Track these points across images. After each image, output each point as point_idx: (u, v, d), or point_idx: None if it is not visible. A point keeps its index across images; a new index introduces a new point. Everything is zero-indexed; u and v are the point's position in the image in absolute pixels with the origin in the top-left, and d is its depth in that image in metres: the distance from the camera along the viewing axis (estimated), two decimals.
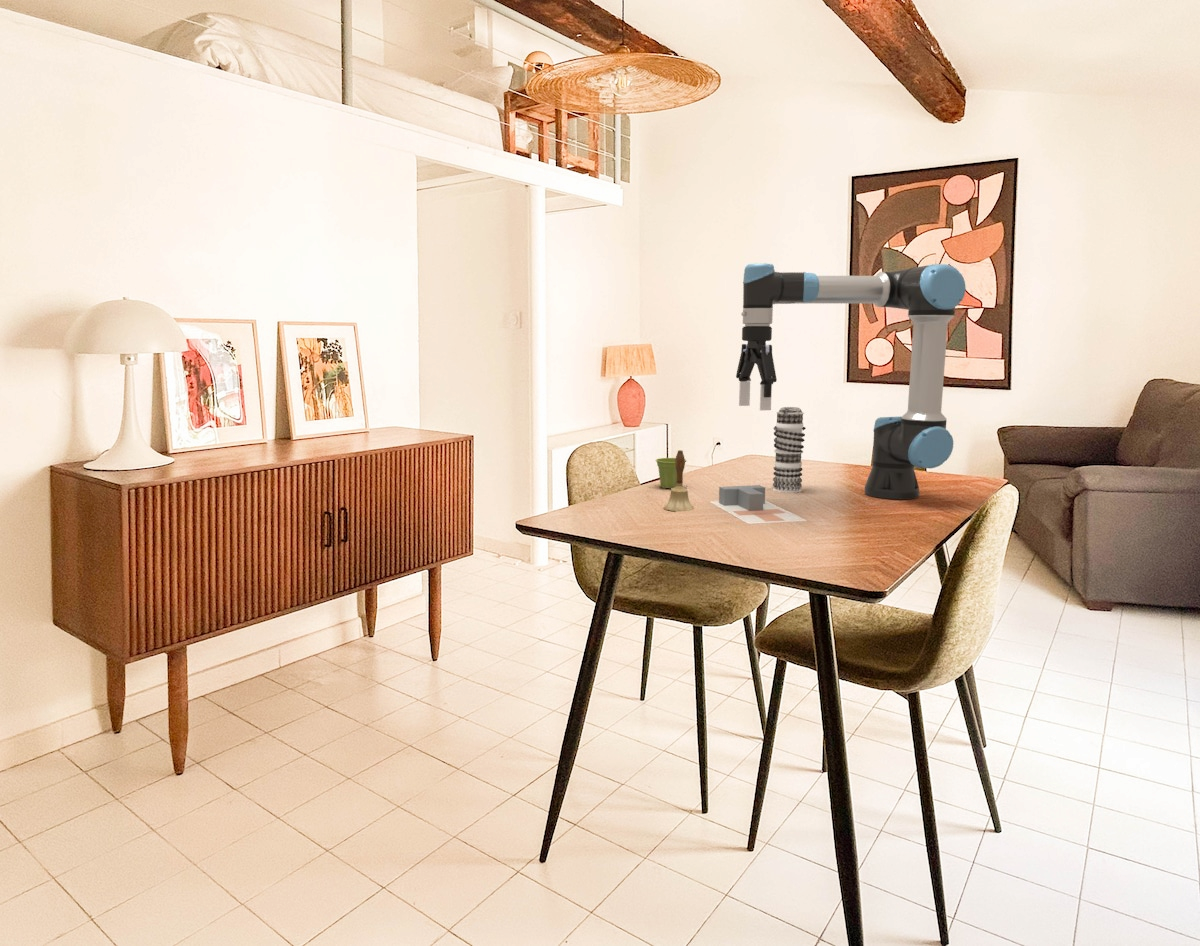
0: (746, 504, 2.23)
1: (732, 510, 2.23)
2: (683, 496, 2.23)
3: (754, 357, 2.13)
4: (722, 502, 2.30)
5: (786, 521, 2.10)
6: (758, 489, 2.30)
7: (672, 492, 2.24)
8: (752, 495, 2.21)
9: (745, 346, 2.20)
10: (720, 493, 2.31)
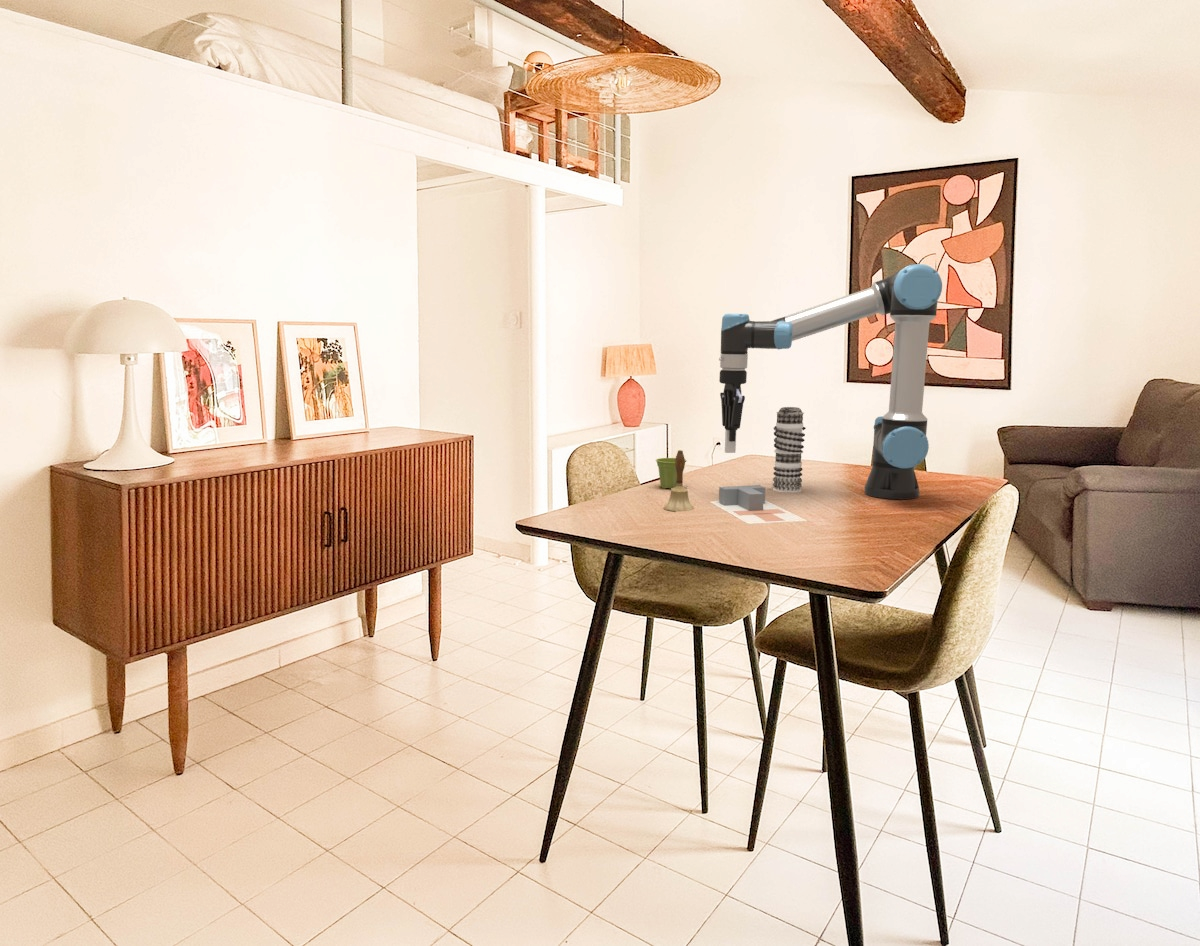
0: (746, 504, 2.23)
1: (732, 510, 2.23)
2: (683, 496, 2.23)
3: (728, 400, 2.34)
4: (722, 502, 2.30)
5: (786, 521, 2.10)
6: (758, 489, 2.30)
7: (672, 492, 2.24)
8: (752, 495, 2.21)
9: (723, 393, 2.40)
10: (720, 493, 2.31)
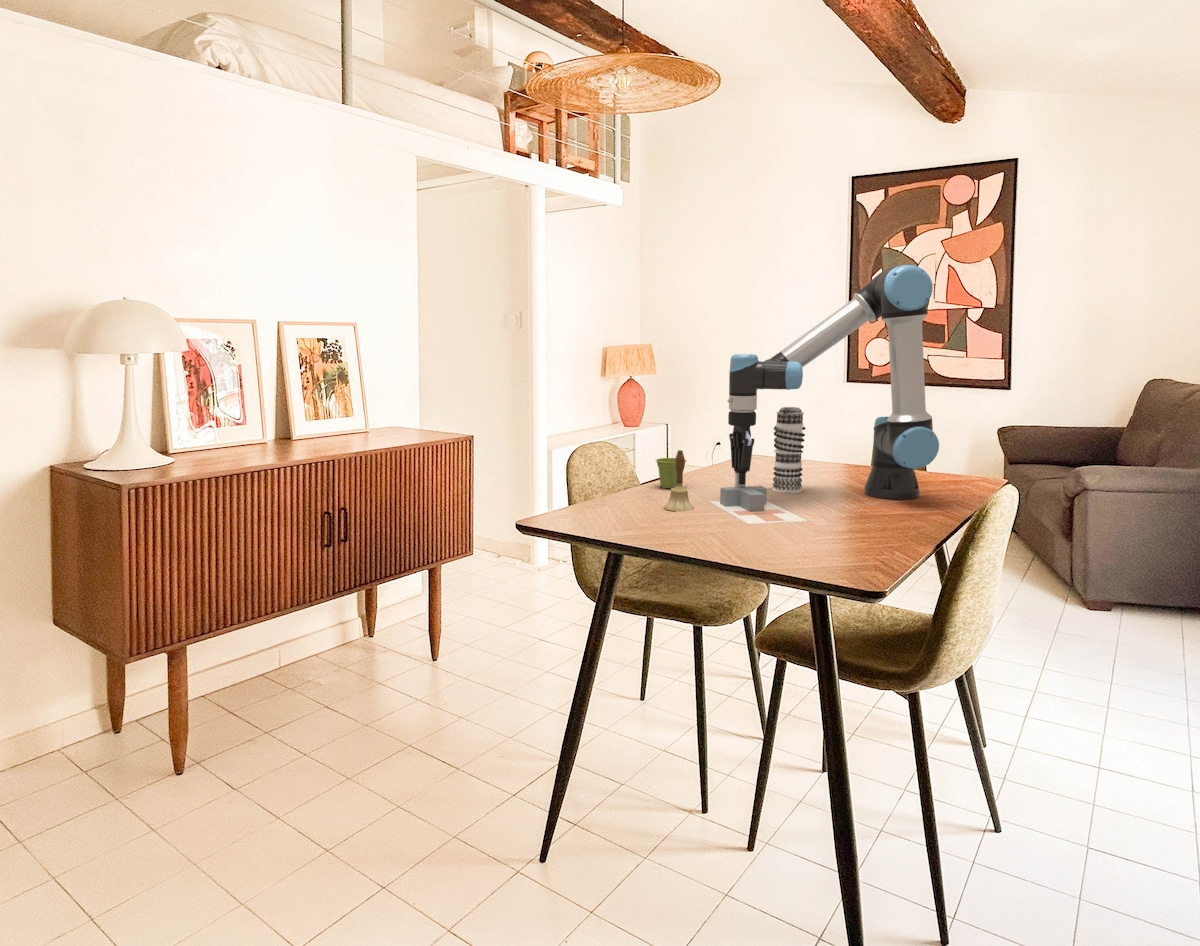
0: (747, 504, 2.22)
1: (732, 510, 2.23)
2: (683, 496, 2.23)
3: (737, 443, 2.29)
4: (723, 503, 2.29)
5: (786, 521, 2.10)
6: (759, 490, 2.29)
7: (672, 492, 2.24)
8: (753, 496, 2.20)
9: (732, 434, 2.35)
10: (721, 494, 2.30)
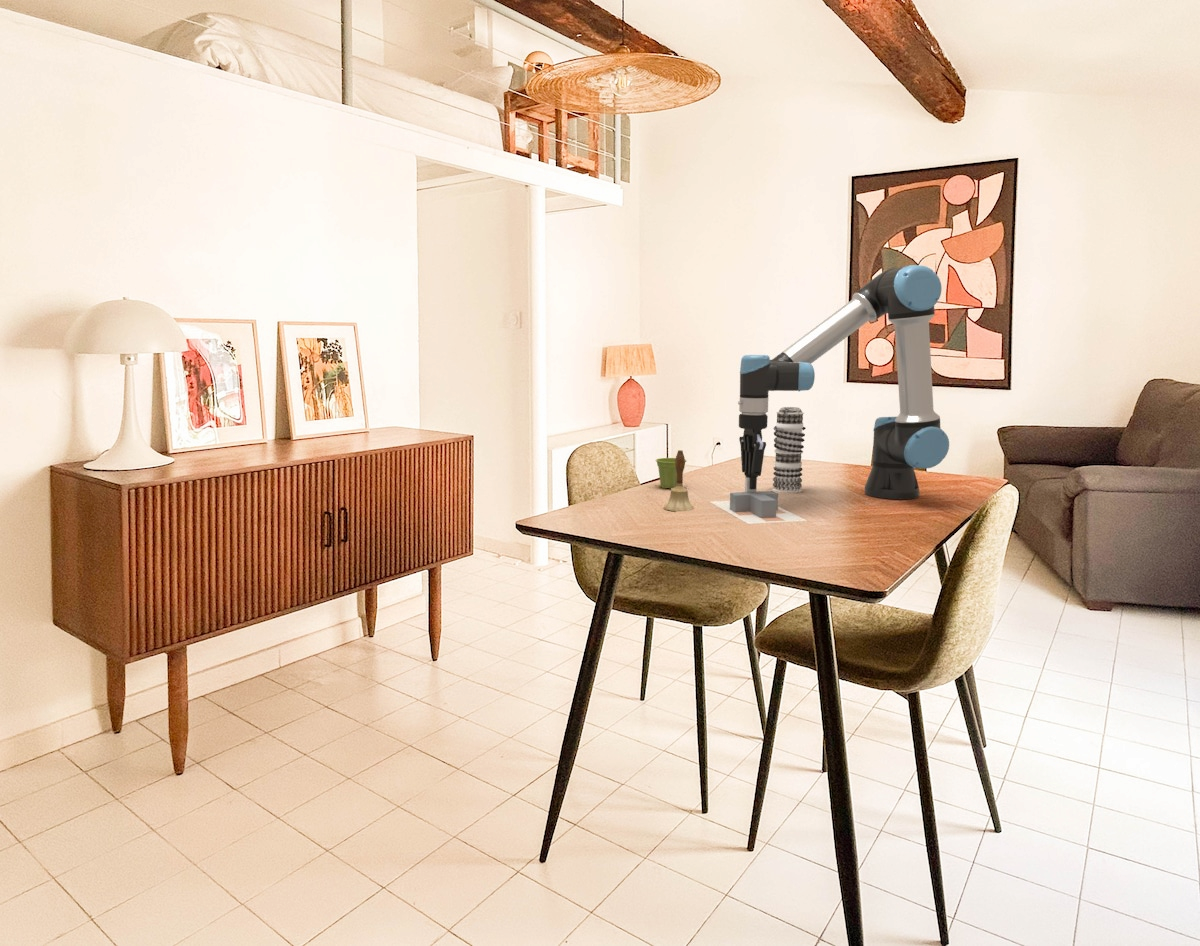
0: (758, 511, 2.15)
1: None
2: (683, 496, 2.23)
3: (748, 446, 2.21)
4: (733, 508, 2.21)
5: (786, 521, 2.10)
6: (771, 495, 2.21)
7: (672, 492, 2.24)
8: (765, 502, 2.13)
9: (742, 437, 2.28)
10: (731, 499, 2.22)
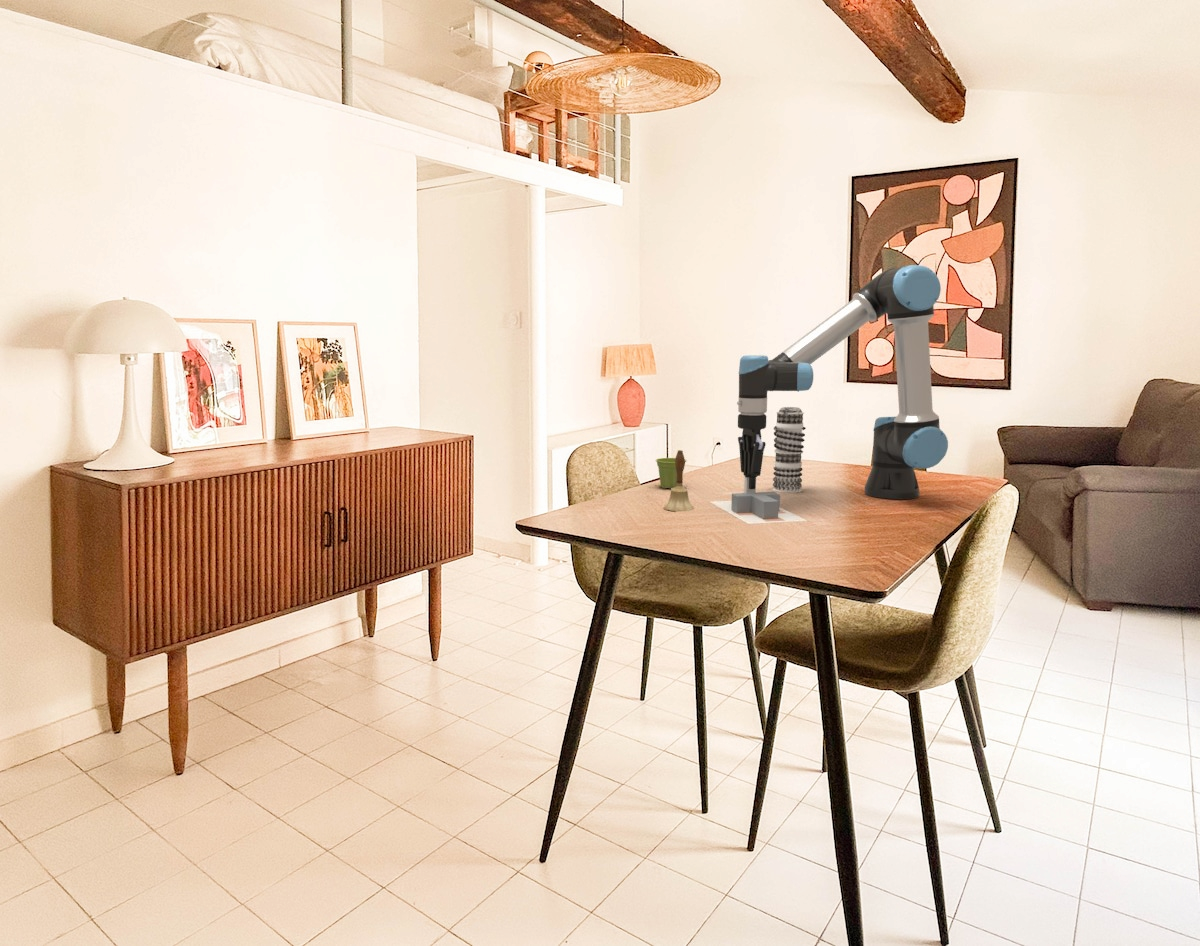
0: (760, 512, 2.14)
1: None
2: (683, 496, 2.23)
3: (747, 446, 2.22)
4: (735, 509, 2.20)
5: (786, 521, 2.10)
6: (772, 496, 2.20)
7: (672, 492, 2.24)
8: (767, 503, 2.12)
9: (741, 437, 2.28)
10: (733, 500, 2.21)
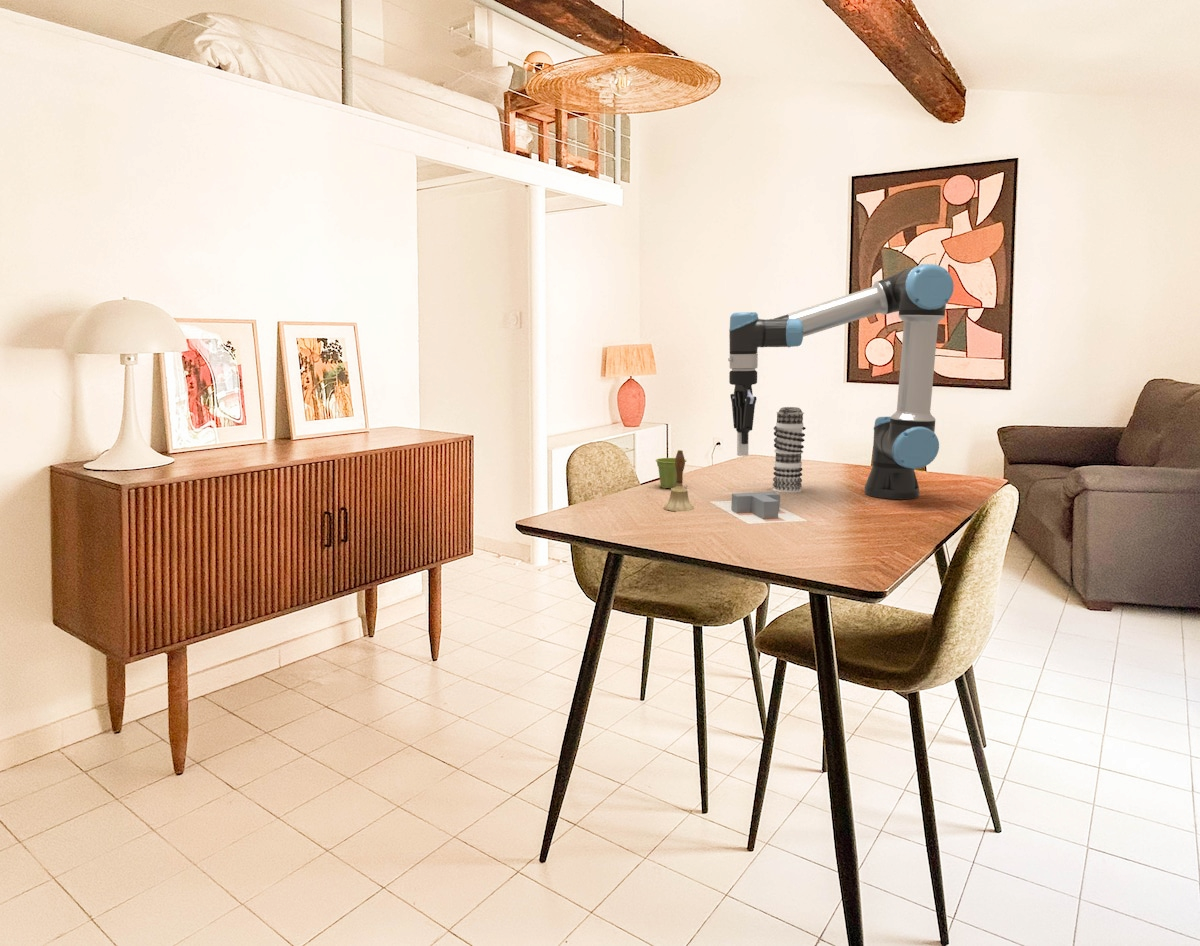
0: (760, 512, 2.14)
1: None
2: (683, 496, 2.23)
3: (739, 402, 2.27)
4: (735, 509, 2.20)
5: (786, 521, 2.10)
6: (772, 496, 2.20)
7: (672, 492, 2.24)
8: (767, 503, 2.12)
9: (733, 394, 2.33)
10: (733, 500, 2.21)
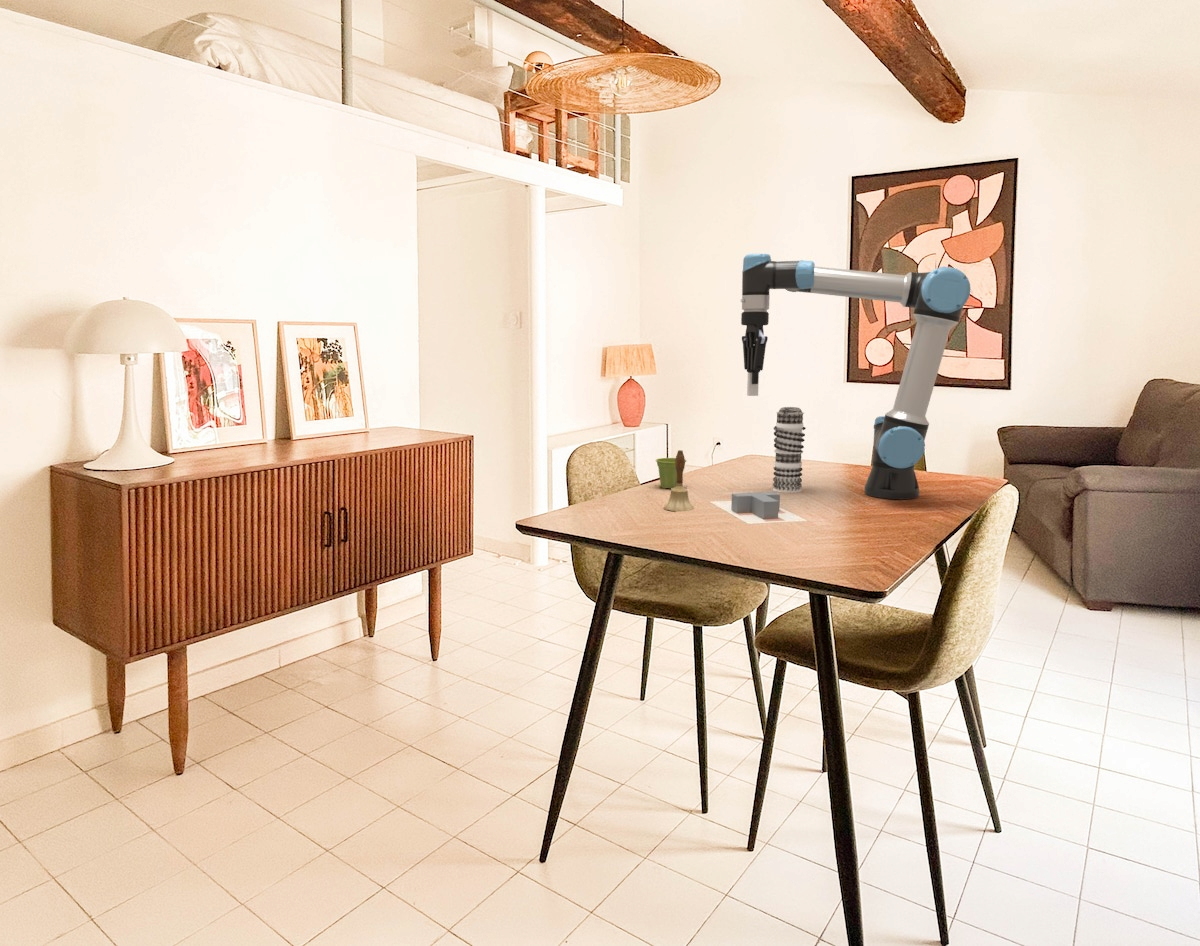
0: (760, 512, 2.14)
1: None
2: (683, 496, 2.23)
3: (750, 342, 2.33)
4: (735, 509, 2.20)
5: (786, 521, 2.10)
6: (772, 496, 2.20)
7: (672, 492, 2.24)
8: (767, 503, 2.12)
9: (745, 336, 2.39)
10: (733, 500, 2.21)
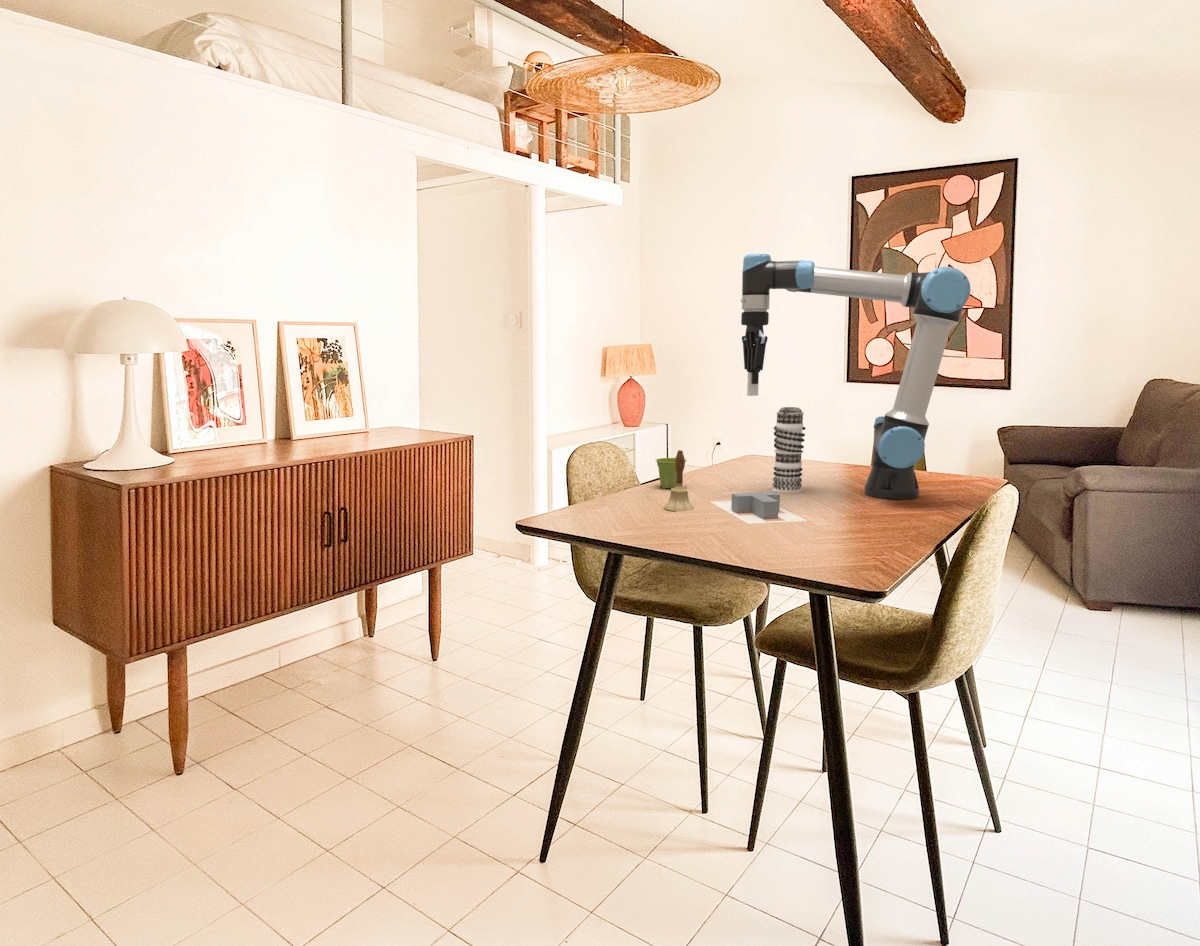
0: (760, 512, 2.14)
1: None
2: (683, 496, 2.23)
3: (750, 342, 2.33)
4: (735, 509, 2.20)
5: (786, 521, 2.10)
6: (772, 496, 2.20)
7: (672, 492, 2.24)
8: (767, 503, 2.12)
9: (745, 336, 2.39)
10: (733, 500, 2.21)
